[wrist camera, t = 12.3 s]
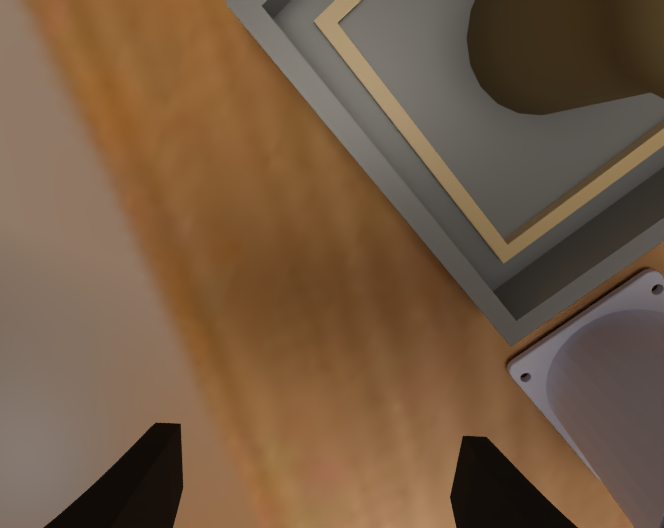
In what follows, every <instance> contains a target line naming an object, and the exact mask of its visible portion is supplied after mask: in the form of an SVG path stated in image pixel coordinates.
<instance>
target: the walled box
mask: <svg viewBox="0 0 664 528" xmlns="http://www.w3.org/2000/svg"><path fill="white" fill-rule="evenodd" d="M474 2H475V0H227V1H226V2H225V3H226V4H227V6H228V7H229V8H230V9H231V10H232V12H233V13H234V14H235V15H236V17H237V18H238V19H239V20H240V21H241V23H242V24H243V25H244V26H245V27H246V29H247V30H248V31H249V32H250V33H251V35H252V36H253V37H254V38H255V39H256V41H257V42H258V43H259V44H260V45H261V47H262V48H263V49H264V50H265V51H266V53H267V54H268V55H269V56H270V57H271V59H272V60H273V61H274V62H275V63H276V65H277V66H278V67H279V68H280V70H281V71H282V72H283V73H284V74H285V76H286V77H287V78H288V79H289V80H290V82H291V83H292V84H293V85H294V86H295V88H296V89H297V90H298V91H299V92H300V94H301V95H302V96H303V97H304V98H305V100H306V101H307V102H308V103H309V104H310V106H311V107H312V108H313V109H314V110H315V112H316V113H317V114H318V115H319V116H320V118H321V119H322V120H323V121H324V122H325V124H326V125H327V126H328V127H329V129H330V130H331V131H332V132H333V133H334V135H335V136H336V137H337V138H338V139H339V141H340V142H341V143H342V144H343V145H344V147H345V148H346V149H347V150H348V151H349V153H350V154H351V155H352V156H353V157H354V159H355V160H356V161H357V162H358V163H359V165H360V166H361V167H362V168H363V169H364V171H365V172H366V173H367V174H368V175H369V177H370V178H371V179H372V180H373V181H374V183H375V184H376V185H377V186H378V188H379V189H380V190H381V191H382V192H383V194H384V195H385V196H386V197H387V198H388V200H389V201H390V202H391V203H392V204H393V206H394V207H395V208H396V209H397V210H398V212H399V213H400V214H401V215H402V216H403V218H404V219H405V220H406V221H407V222H408V224H409V225H410V226H411V227H412V228H413V230H414V231H415V232H416V233H417V234H418V236H419V237H420V238H421V239H422V241H423V242H424V243H425V244H426V245H427V247H428V248H429V249H430V250H431V251H432V253H433V254H434V255H435V256H436V257H437V259H438V260H439V261H440V262H441V263H442V265H443V266H444V267H445V268H446V269H447V271H448V272H449V273H450V274H451V275H452V277H453V278H454V279H455V280H456V281H457V283H458V284H459V285H460V286H461V287H462V289H463V290H464V291H465V292H466V293H467V295H468V296H469V297H470V298H471V300H472V301H473V302H474V303H475V304H476V306H477V307H478V308H479V309H480V310H481V312H482V313H483V314H484V315H485V316H486V318H487V319H488V320H489V321H490V322H491V324H492V325H493V326H494V327H495V328H496V330H497V331H498V332H499V333H500V334H501V336H502V337H503V338H504V339H505V340H506V342H507V343H508V344H509V345H510V346H512V345H513V344H515V343H516V342H518V341H519V340H521V339H522V338H524V337H525V336H527V335H528V334H529V333H531V332H532V331H534V330H535V329H537V328H538V327H540V326H541V325H542V324H544V323H545V322H547V321H548V320H550V319H551V318H553V317H554V316H556V315H557V314H558V313H560V312H561V311H563V310H564V309H566V308H567V307H569V306H570V305H571V304H573V303H574V302H576V301H577V300H579V299H580V298H582V297H583V296H585V295H586V294H587V293H589V292H590V291H592V290H593V289H595V288H596V287H598V286H599V285H600V284H602V283H603V282H605V281H606V280H608V279H609V278H611V277H612V276H614V275H615V274H616V273H618V272H619V271H621V270H622V269H624V268H625V267H627V266H628V265H629V264H631V263H632V262H634V261H635V260H637V259H638V258H640V257H641V256H643V255H644V254H645V253H647V252H648V251H650V250H651V249H653V248H654V247H656V246H657V245H658V244H660V243H661V242H663V241H664V99H663V98H661V97H659V96H657V95H655V94H653V93H646V94H642V95H637V96H632V97H627V98H623V99H618V100H613V101H608V102H603V103H599V104H594V105H589V106H584V107H579V108H575V109H570V110H565V111H560V112H556V113H551V114H546V115H532V114H519V113H517V112H514V111H512V110H510V109H508V108H506V107H503V106H501V105H499V104H497V103H496V102H495V101H494V100H493V99H492V98H491V97H490V96H489V95H488V94H487V93H486V92H485V91H484V90H483V89H482V88H481V87H480V84H479V82H478V80H477V78H476V76H475V74H474V72H473V70H472V68H471V66H470V61H469V53H468V46H467V31H468V25H469V18H470V12H471V8H472V6H473V4H474Z"/></svg>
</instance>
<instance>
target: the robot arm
mask: <svg viewBox="0 0 664 528" xmlns="http://www.w3.org/2000/svg"><path fill="white" fill-rule="evenodd" d="M657 284H658V286H657V288H656V289H655V290H654V291H652V288H653V287H654V286H655V285H657ZM507 370H508V372H509V374H510V375H511V377H512V378H513V379H514V380H515V382H516V383H517V384H518V385H519V386H520V387H521V389H522V390H523V391H524V392H525V393H526V394H527V396H528V397H529V398H530V399H531V400H532V401H533V403H534V404H535V405H536V406H537V407H538V409H539V410H540V411H541V412H542V413H543V414H544V416H545V417H546V418H547V419H548V420H549V421H550V423H551V424H552V425H553V426H554V427H555V429H556V430H557V431H558V432H559V433H560V434H561V436H562V437H563V438H564V439H565V440H566V441H567V443H568V444H569V445H570V446H571V447H572V448H573V450H574V451H575V452H576V453H577V454H578V456H579V457H580V458H581V459H582V460H583V461H584V463H585V464H586V465H587V466H588V467H589V468H590V470H591V471H592V472H593V473H594V474H595V476H596V477H597V478H598V479H599V480H600V481H601V482H603V484H604V485H605V487H606V488H607V489H608V491H609V492H610V494H611V495H612V496H613V498H614V499H615V501H616V502H617V503H618V505H619V506H620V508H621V509H622V510H623V512H624V513H625V515H626V516H627V518H628V519H629V520H630V522H631V523H632V525H633V526H634V527H635V528H664V277H663V276H662V274H661V273H659V272H658V271H656V270H654V269H645V270H643V271H641V272H640V273H638V274H637V275H636V276H634V277H633V278H631V279H630V280H628V281H627V282H625V283H624V284H622V285H621V286H619V287H618V288H616V289H615V290H614V291H612V292H611V293H609V294H608V295H606V296H605V297H603V298H602V299H600V300H599V301H597V302H596V303H595V304H593V305H592V306H590V307H589V308H587V309H586V310H584V311H583V312H581V313H580V314H578V315H577V316H575V317H574V318H573V319H571V320H570V321H568V322H567V323H565V324H564V325H562V326H561V327H559V328H558V329H556V330H555V331H553V332H552V333H551V334H549V335H548V336H546V337H545V338H543V339H542V340H540V341H539V342H537V343H536V344H534V345H533V346H531V347H530V348H529V349H527V350H526V351H524V352H523V353H521V354H520V355H518V356H517V357H515V358H514V359H512V360H511V361H510V362H509V363H508V365H507ZM524 373H528V374H527V376H526V377H523V378H521V375H522V374H524ZM182 490H183V472H182V447H181V424H173V423H172V424H171V423H155V424H154V425H153V426H152V427H150V429H149V430H148V431H147V432H146V433H145V434H144V435H143V436H142V437H141V438H140V439H139V440H138V441H137V442H136V443H135V444H134V445H133V446H132V447H131V448H130V449H129V450H128V451H127V452H126V453H125V454H124V455H123V456H122V457H121V458H120V459H119V460H118V461H117V462H116V463H115V464H114V465H113V466H112V467H111V468H110V469H109V470H108V471H107V472H106V473H105V474H104V475H103V476H102V477H101V478H100V479H99V480H98V481H96V483H94V484H93V485H92V486H91V487H90V488H89V489H88V490H87V491H86V492H85V493H83V494H82V495H81V496H80V497H79V498H78V499H77V500H75V501H74V502H73V503H72V504H71V505H70V506H69V507H67V509H65V510H64V511H63V512H62V513H61V514H59V515H58V516H57V517H56V518H55V519H54V520H52V521H51V522H50V523H49V524H47V525H46V526H45V527H44V528H173V525H174V521H175V518H176V514H177V510H178V506H179V502H180V498H181V494H182ZM450 499H451V504H452V509H453V513H454V518H455V523H456V527H457V528H578V527H576V526H575V525H574V524H573V523H572V522H571V521H570V520H569V519H568V518H566V517H565V516H564V515H563V514H562V513H561V512H560V511H559V510H558V509H557V508H556V507H555V506H554V505H553V504H552V503H551V502H550V501H549V500H547V499H546V498H545V497H544V496H543V495H542V494H541V493H540V492H539V491H538V490H537V489H536V488H535V487H534V486H533V485H532V484H531V483H530V482H529V481H528V480H527V479H526V478H525V477H524V475H523V474H522V473H521V472H520V471H519V470H518V469H517V468H516V467H515V466H514V465H513V464H512V463H511V462H510V461H509V460H508V459H507V458H506V457H505V456H504V455H503V454H502V453H501V452H500V451H499V449H498V448H497V447H496V446H495V445H494V444H493V443H492V442H491V441H490V440H489V439H488V438H487V437H476V436H463V438H462V443H461V448H460V452H459V457H458V462H457V467H456V472H455V476H454V481H453V486H452V491H451V496H450Z"/></svg>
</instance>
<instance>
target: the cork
mask: <svg viewBox="0 0 664 528" xmlns="http://www.w3.org/2000/svg"><path fill="white" fill-rule="evenodd" d="M467 46H468V53H469V61H470V66H471V68H472V70H473V72H474V74H475V76H476V78H477V80H478V82H479V84H480V87H481V88H482V89H483V90H484V91H485V92H486V93H487V94H488V95H489V96H490V97H491V98H492V99H493V100H494V101H495V102H496V103H497V104H499V105H501V106H503V107H506V108H508V109H510V110H512V111H514V112H517V113H519V114H532V115H546V114H551V113H556V112H560V111H565V110H570V109H575V108H579V107H584V106H589V105H594V104H599V103H603V102H608V101H613V100H618V99H623V98H627V97H632V96H637V95H642V94H646V93H653V94H655V95H657V96H659V97H661V98H663V99H664V0H475V2H474V4H473V6H472V8H471V12H470V18H469V25H468V31H467Z"/></svg>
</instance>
